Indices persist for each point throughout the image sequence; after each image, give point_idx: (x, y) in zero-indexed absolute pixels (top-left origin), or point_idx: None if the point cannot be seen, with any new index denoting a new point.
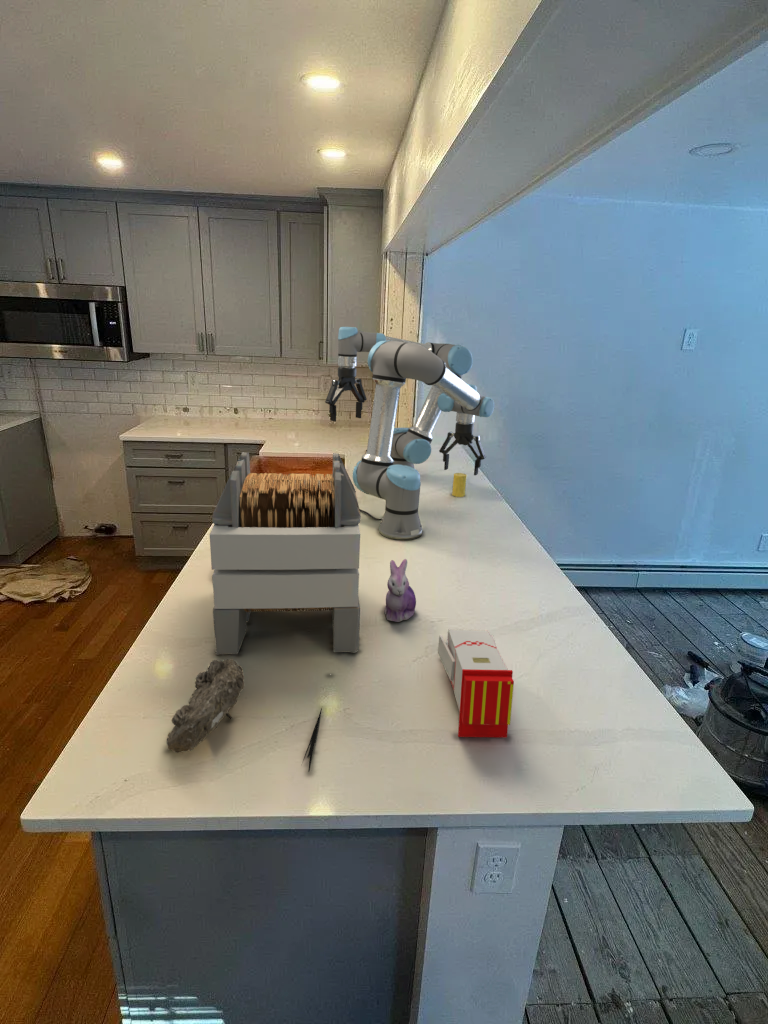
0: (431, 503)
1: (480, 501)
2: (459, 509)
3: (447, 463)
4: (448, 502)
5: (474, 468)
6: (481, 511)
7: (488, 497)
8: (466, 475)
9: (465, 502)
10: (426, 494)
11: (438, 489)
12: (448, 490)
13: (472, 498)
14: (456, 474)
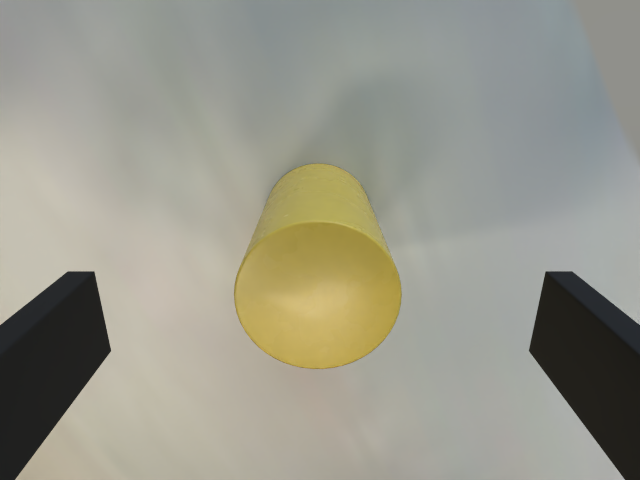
0: (247, 461)
1: (520, 254)
2: (433, 460)
3: (50, 365)
4: (326, 395)
5: (584, 423)
6: (565, 423)
7: (563, 114)
8: (399, 280)
9: (425, 334)
10: (120, 338)
11: (112, 172)
12: (192, 144)
13: (445, 223)
14: (276, 321)
